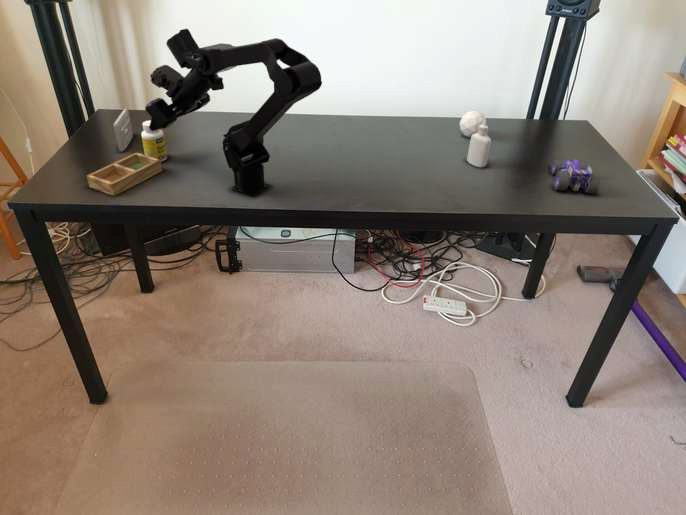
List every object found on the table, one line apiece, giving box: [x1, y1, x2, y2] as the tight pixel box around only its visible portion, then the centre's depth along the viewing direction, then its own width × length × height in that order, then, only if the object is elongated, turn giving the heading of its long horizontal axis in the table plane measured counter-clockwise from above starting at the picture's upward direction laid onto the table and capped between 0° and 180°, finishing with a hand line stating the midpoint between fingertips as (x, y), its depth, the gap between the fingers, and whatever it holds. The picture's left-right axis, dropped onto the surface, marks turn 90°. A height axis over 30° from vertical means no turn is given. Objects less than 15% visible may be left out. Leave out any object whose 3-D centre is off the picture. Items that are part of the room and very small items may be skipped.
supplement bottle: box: [141, 119, 168, 163], centre depth 135 cm, size 5×5×10 cm
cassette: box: [112, 108, 134, 153], centre depth 143 cm, size 12×2×8 cm, turn 5°
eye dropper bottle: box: [466, 120, 492, 168], centre depth 140 cm, size 4×6×12 cm
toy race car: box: [550, 159, 601, 195], centre depth 135 cm, size 10×15×6 cm, turn 172°
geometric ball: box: [459, 110, 487, 139], centre depth 157 cm, size 8×8×8 cm
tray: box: [86, 152, 163, 197], centre depth 127 cm, size 8×15×3 cm, turn 152°
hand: (162, 122), depth 131 cm, fingers open, 9 cm apart
